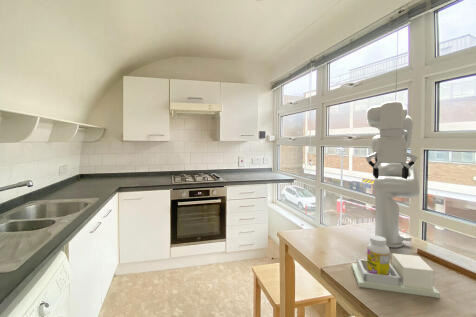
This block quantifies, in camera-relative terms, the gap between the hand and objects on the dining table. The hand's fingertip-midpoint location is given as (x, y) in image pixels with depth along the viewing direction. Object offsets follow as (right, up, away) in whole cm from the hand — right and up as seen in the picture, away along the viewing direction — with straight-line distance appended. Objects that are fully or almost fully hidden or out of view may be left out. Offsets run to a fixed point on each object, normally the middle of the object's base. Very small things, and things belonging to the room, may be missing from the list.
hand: (390, 178), depth 91 cm
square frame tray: (-8, -34, -12) cm, 37 cm away
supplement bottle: (-11, -33, -10) cm, 36 cm away
